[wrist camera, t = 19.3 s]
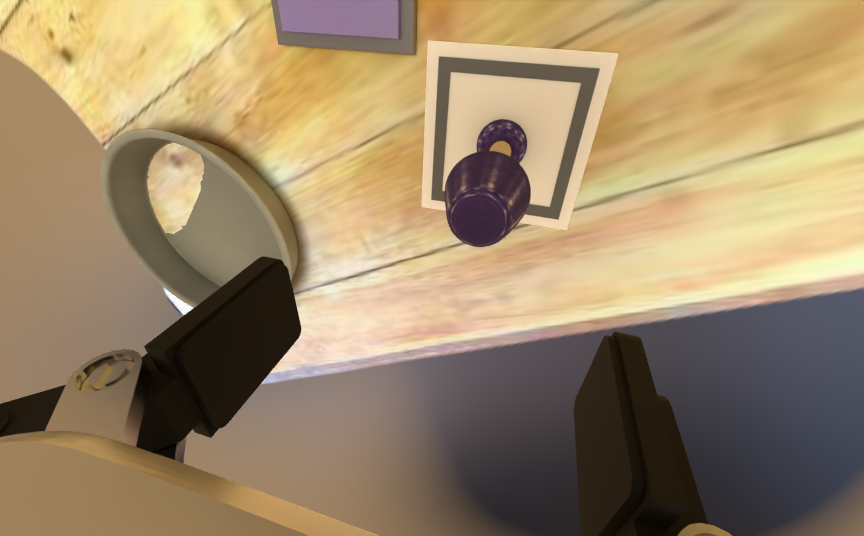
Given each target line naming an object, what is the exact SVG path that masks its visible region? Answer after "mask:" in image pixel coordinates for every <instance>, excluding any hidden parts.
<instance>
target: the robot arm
mask: <svg viewBox="0 0 864 536" xmlns="http://www.w3.org/2000/svg"><path fill="white" fill-rule="evenodd" d="M300 333H301V324H300V320H299V315H298V311H297V306H296V302H295V297H294V293H293V289H292V284H291V280H290V275H289V271H288V268H287V266H285V265H284V262H283V261H282V260H280V259H275V258H271V257H266V256H262V257H260V258H258V259H257V260H256V261H254V262H253V263H252V264H250V265H249V266H248V267H246V268H245V269H244V270H243V271H241V272H240V273H239V274H237V275H236V276H235V277H234V278H232V279H231V280H230V281H228V282H227V283H226V284H224V285H223V286H222V287H221V288H219V289H218V290H217V291H215V292H214V293H213V294H211V295H210V296H209V297H208V298H206V299H205V300H204V301H202V302H201V303H200V304H199V305H197V306H196V307H195V308H193V309H192V310H191V311H189V312H188V313H187V314H186V315H184V316H183V317H182V318H180V319H179V320H178V321H177V322H175V323H174V324H173V325H171V326H170V327H169V328H167V329H166V330H165V331H164V332H162V333H161V334H160V335H159V336H157V337H156V338H154V339H153V340H152V341H151V342H149V343H148V344H147V345H145V346H144V347H145V349H146V351H147V352H148V353H147V354H146V355H145V356H143V357H142V356H141V355H140V354H139V353H138V352H136V351H134V350H128V349H127V350H126V349H122V350H115V351H111V352H108V353H105V354H102V355H99V356H97V357H95V358H93V359H91V360H89V361H88V362H86V363H85V364H83V365H82V366H80V367H79V368H78V369H77V370H76V371H75V372H74V373H73V374H72V375H71V377H70V378H69V380H68V381H67V384H66V385H63V386H60V387H57V388H53V389H50V390H47V391H43V392H40V393H36V394H33V395H29V396H26V397H22V398H19V399H15V400H12V401H9V402H5V403H2V404H0V536H379V535H376V534H373V533H371V532H368V531H366V530H363V529H360V528H357V527H355V526H352V525H349V524H346V523H344V522H341V521H338V520H336V519H333V518H330V517H327V516H325V515H322V514H319V513H317V512H314V511H312V510H309V509H306V508H303V507H301V506H298V505H295V504H293V503H290V502H287V501H284V500H282V499H279V498H276V497H274V496H271V495H268V494H265V493H263V492H260V491H257V490H255V489H252V488H249V487H246V486H244V485H241V484H238V483H235V482H233V481H230V480H227V479H225V478H222V477H219V476H216V475H213V474H211V473H208V472H205V471H203V470H200V469H197V468H194V467H191V466H189V465H186V464H183V463H184V454H185V446H186V436H187V435H188V434H189V432H190V431H191V430H192V429H193V430H194V431H195V432H196V433H198V434H201V435H204V436H207V437H210V438H211V437H212V436H213V435H214V434H215V432H216V431H217V430H218V429H219V428H222V427H224V426H226V424H227V423H228V422H229V421H230V420H231V419H232V418H233V416H234V415H235V414H236V413H237V412H238V410H239V409H240V408H241V407H242V405H243V404H244V403H245V402H246V401H247V399H248V398H249V397H250V396H251V395H252V394H253V392H254V391H255V390H256V389H257V387H258V386H259V385H260V384H261V383H262V381H263V380H264V379H265V378H266V377H267V375H268V374H269V373H270V372H271V371H272V369H273V368H274V367H275V366H276V365H277V363H278V362H279V361H280V360H281V359H282V357H283V356H284V355H285V354H286V353H287V351H288V350H289V349H290V348H291V347H292V345H293V344H294V343H295V342H296V340H297V339H298V338H299V336H300ZM574 420H575V440H576V459H577V477H578V496H579V515H580V534H581V536H732V535H730V534H729V533H727V532H725V531H723V530H721V529H719V528H717V527H715V526H712V525H708V522H707V519H706V516H705V512H704V509H703V506H702V503H701V500H700V497H699V493H698V490H697V487H696V484H695V480H694V477H693V474H692V471H691V468H690V464H689V461H688V458H687V455H686V452H685V448H684V445H683V442H682V439H681V436H680V432H679V430H678V426H677V423H676V420H675V417H674V413H673V410H672V407H671V405H670V402H669V400H668V399H667V398H666V397H664V396H661V395H657V393H656V390H655V386H654V383H653V380H652V376H651V372H650V368H649V365H648V362H647V358H646V354H645V351H644V347H643V344H642V341H641V339H640V337H637V336H633V335H628V334H624V333H619V332H614V333H613V334H612V336H604V338H603V340H602V342H601V344H600V346H599V348H598V351H597V353H596V355H595V357H594V360H593V362H592V364H591V366H590V368H589V371H588V373H587V375H586V377H585V379H584V382H583V384H582V386H581V388H580V390H579V393H578V395H577V397H576V400H575V405H574Z"/></svg>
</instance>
